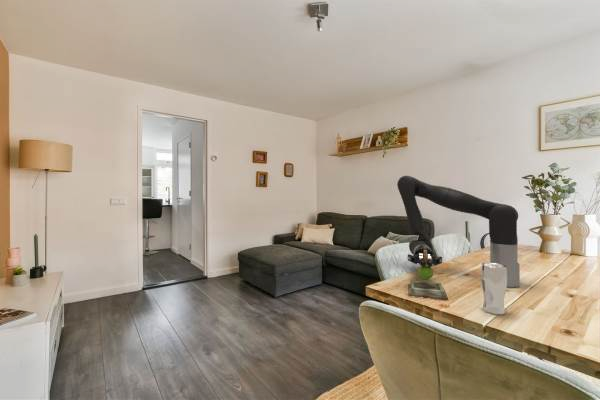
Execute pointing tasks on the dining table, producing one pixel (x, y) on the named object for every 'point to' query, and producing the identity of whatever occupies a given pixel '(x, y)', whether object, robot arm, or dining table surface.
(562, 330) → the dining table surface
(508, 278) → the robot arm
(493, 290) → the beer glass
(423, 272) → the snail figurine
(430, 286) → the grey shallow tray
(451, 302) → the dining table surface
